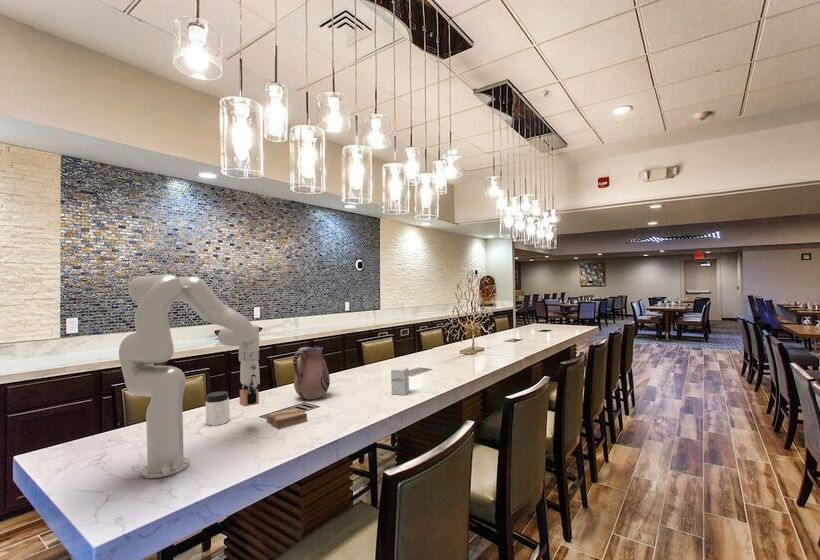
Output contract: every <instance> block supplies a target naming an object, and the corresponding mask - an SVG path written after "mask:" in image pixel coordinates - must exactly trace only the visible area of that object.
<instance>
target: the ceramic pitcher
mask: <svg viewBox="0 0 820 560" xmlns="http://www.w3.org/2000/svg"><path fill="white" fill-rule="evenodd" d="M323 350H324V347H321V346H312V347H311V346H303V347H300V348H298V349H297V351H296V352H295V353H294V355H293V359H292V362H293V363H292V364H293V369H294V372H295V375H294V379H293V386H294V387H293V388H294V390H295V393H296V394H297V395H298V396H299V397H300V398H301V399H303V400H307V401H308V400H310V401H312V400H317V399H321V398H322V397H323V396H325V395H326V393H327V391H329V387H330V384H331V383H330V382H331V379H330V374H329V369H328V367H327V364H326V361H325V359H324V356H323ZM298 360H299V361H298Z"/></svg>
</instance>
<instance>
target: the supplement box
mask: <svg viewBox="0 0 820 560" xmlns="http://www.w3.org/2000/svg"><path fill="white" fill-rule="evenodd" d="M390 379H391V380H390V381H391V395H392V396H394V395H395V396H397V395H398V396H406V395H407V394H409V392H410V382H409V381H410V380H409V379H410V378H409V367H404V366H403V367H401V366H400V367H398V366H395V367H393V368H392V369H391V370H390Z"/></svg>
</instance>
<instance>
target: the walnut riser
mask: <svg viewBox="0 0 820 560" xmlns="http://www.w3.org/2000/svg"><path fill="white" fill-rule="evenodd" d="M307 421H308V415H307V413H306V412H304V411H302V410H300V409H298V408H296V407H294V408H288V409H284V410H279V411H277V412H272V413H268V414H266V422H267V423H268V422H269V424H270V425H271V426H273V427H275V428H276V429H283V428H287V427H290V426H294V425H297V424H302V423H305V422H307Z"/></svg>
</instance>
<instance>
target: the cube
mask: <svg viewBox="0 0 820 560" xmlns="http://www.w3.org/2000/svg"><path fill="white" fill-rule="evenodd" d="M251 388H252V387H250V390H251ZM247 394H248V389H244V390H242V389H240V390H239V404H240V405H241V406H243V407H249V406H254V405H259V401H260V400H259V398H260V397H259V396H260V395H259V389H258V388H257V389H256V403H254V404H248V403H247Z"/></svg>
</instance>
